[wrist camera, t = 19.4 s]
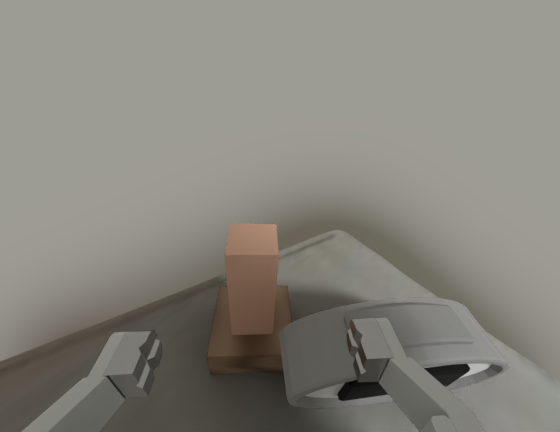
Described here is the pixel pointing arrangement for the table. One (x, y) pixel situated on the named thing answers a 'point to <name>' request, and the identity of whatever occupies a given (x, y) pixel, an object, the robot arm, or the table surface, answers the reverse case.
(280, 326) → the block
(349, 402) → the alarm clock
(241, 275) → the terracotta block
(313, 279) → the table surface
